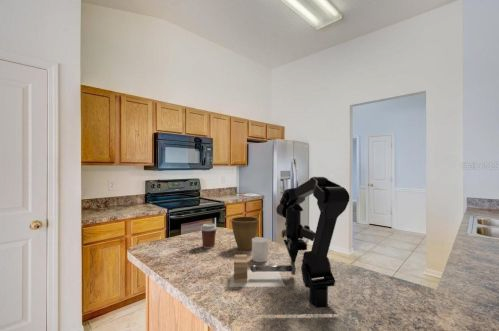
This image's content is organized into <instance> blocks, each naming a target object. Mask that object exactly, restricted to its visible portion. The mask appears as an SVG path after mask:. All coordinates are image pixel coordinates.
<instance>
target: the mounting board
mask: <svg viewBox="0 0 499 331" xmlns="http://www.w3.org/2000/svg"><path fill="white" fill-rule="evenodd" d="M285 286H286V285H285V283H284V281H283V277H282V275H281V272H252V271H251V269H247V283H234V269H231V270H230V278H229V286H228V287H229V288H248V287H249V288H255V287H256V288H257V287H259V288H262V287H263V288H270V287H271V288H272V287H274V288H276V287H278V288H279V287H280V288H281V287H283V288H285Z"/></svg>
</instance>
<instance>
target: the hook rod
mask: <svg viewBox="0 0 499 331" xmlns="http://www.w3.org/2000/svg"><path fill="white" fill-rule="evenodd" d="M250 270H251V271H252V272H280V273H281V272H282V273H283V272H284V273H286V272H289V273H290V274H291V276H295V275H296V261H295V262H292V260H291V259H290V264H287V265H279V264H278V265H255V264H253V265H251V266H250Z"/></svg>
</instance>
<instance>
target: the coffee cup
mask: <svg viewBox="0 0 499 331" xmlns="http://www.w3.org/2000/svg"><path fill="white" fill-rule="evenodd" d="M217 230H218V227H217V226H216V224H215V223H203V224H202V226H201V227H200V231H201V237H202V238H201V239H202V248H203V247H204V248H203V249H213V248H214V247H215V245H216V232H217ZM212 247H213V248H212Z"/></svg>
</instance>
